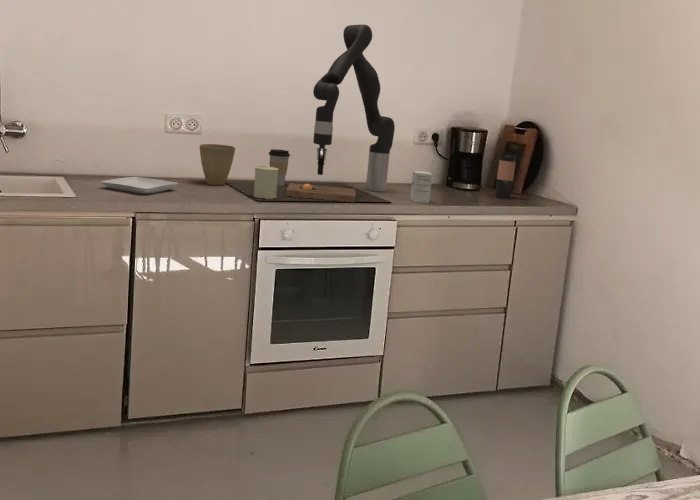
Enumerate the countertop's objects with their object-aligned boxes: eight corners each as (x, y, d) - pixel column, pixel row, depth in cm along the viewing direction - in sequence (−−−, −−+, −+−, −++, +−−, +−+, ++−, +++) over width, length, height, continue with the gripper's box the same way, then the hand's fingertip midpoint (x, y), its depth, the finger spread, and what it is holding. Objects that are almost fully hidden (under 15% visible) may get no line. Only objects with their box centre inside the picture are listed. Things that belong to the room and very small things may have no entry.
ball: (300, 191, 334) (304, 181, 333) (310, 195, 334) (314, 185, 333) (299, 192, 329) (303, 182, 328) (309, 196, 329) (313, 186, 328)
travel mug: (511, 197, 380) (517, 155, 375) (509, 199, 372) (515, 157, 368) (495, 195, 382) (501, 153, 377) (493, 197, 375) (498, 155, 370)
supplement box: (409, 199, 345) (412, 170, 342) (426, 200, 346) (429, 171, 343) (412, 202, 338) (415, 172, 335) (429, 203, 338) (432, 173, 336)
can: (266, 194, 322) (268, 164, 319) (281, 198, 315) (283, 168, 313) (248, 195, 315) (250, 165, 313) (262, 199, 309) (265, 168, 306)
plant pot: (204, 179, 344) (205, 142, 341) (237, 183, 342) (239, 146, 339) (192, 184, 330) (194, 145, 326) (227, 188, 328) (229, 149, 325)
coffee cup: (284, 187, 345) (287, 152, 342) (263, 184, 347) (265, 150, 344) (290, 184, 354) (292, 150, 351) (270, 182, 356) (272, 148, 353)
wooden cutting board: (289, 189, 341) (289, 183, 340) (354, 195, 342) (354, 189, 341) (286, 196, 321) (286, 190, 321) (355, 202, 322) (355, 196, 322)
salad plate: (99, 189, 299) (99, 180, 299) (134, 184, 319) (134, 175, 318) (146, 197, 292) (146, 188, 291) (179, 191, 311) (179, 182, 310)
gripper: (332, 134, 319) (328, 177, 323) (332, 131, 332) (329, 173, 336) (313, 133, 319) (310, 176, 323) (314, 130, 332) (311, 171, 336)
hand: (320, 174), depth 330 cm, fingers closed
